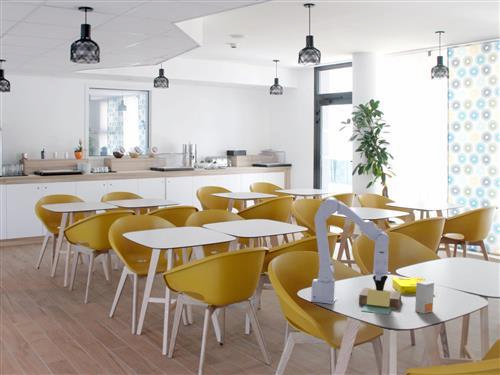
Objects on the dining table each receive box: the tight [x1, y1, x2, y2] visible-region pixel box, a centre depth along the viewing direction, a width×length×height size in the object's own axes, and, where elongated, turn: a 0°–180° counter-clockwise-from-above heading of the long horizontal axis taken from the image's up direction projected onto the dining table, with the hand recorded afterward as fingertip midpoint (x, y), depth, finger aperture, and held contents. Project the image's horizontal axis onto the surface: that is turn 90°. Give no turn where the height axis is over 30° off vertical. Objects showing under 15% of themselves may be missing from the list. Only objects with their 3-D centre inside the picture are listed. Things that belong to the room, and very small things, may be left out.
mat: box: [360, 304, 393, 315], centre depth 224 cm, size 11×9×1 cm
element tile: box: [392, 276, 427, 296], centre depth 254 cm, size 15×15×5 cm
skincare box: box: [414, 280, 435, 314], centre depth 222 cm, size 6×4×12 cm
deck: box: [358, 287, 402, 310], centre depth 234 cm, size 16×12×4 cm
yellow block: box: [367, 290, 391, 307], centre depth 227 cm, size 9×6×2 cm
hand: (379, 293), depth 230 cm, fingers closed
